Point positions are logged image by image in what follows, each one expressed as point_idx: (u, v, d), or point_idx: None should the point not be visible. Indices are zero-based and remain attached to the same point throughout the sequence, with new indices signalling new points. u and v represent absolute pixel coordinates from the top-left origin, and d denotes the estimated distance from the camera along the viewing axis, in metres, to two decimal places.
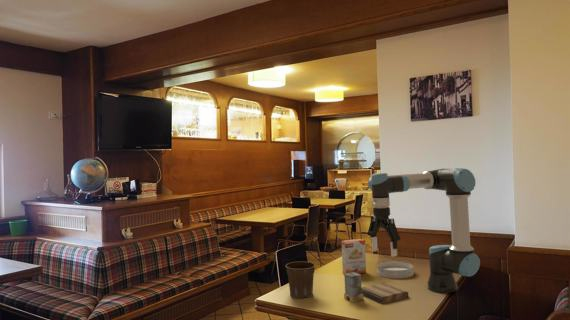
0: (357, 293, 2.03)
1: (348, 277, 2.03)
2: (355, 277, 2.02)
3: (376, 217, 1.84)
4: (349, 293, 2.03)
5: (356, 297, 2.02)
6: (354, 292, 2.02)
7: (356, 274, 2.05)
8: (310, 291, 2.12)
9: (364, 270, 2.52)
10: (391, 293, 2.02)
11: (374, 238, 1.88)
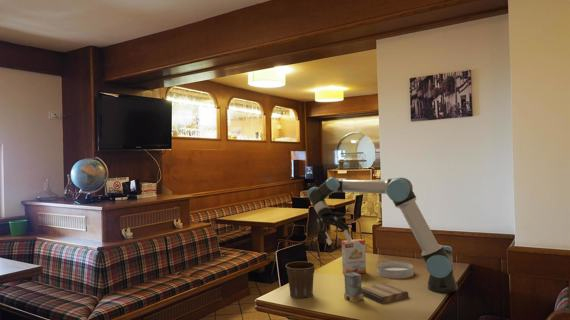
0: (357, 293, 2.03)
1: (348, 277, 2.03)
2: (355, 277, 2.02)
3: None
4: (349, 293, 2.03)
5: (356, 297, 2.02)
6: (354, 292, 2.02)
7: (356, 274, 2.05)
8: (310, 291, 2.12)
9: (364, 270, 2.52)
10: (391, 293, 2.02)
11: (344, 232, 2.19)
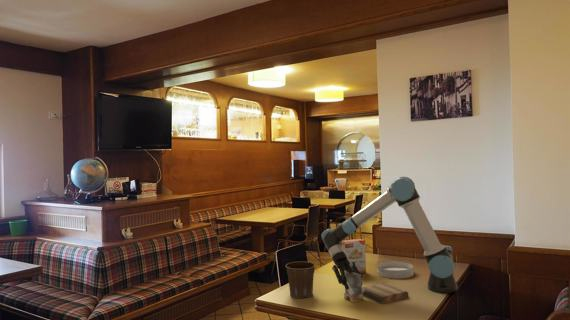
0: (357, 293, 2.03)
1: (348, 277, 2.03)
2: (355, 277, 2.02)
3: None
4: None
5: (356, 297, 2.02)
6: (354, 292, 2.02)
7: (356, 274, 2.05)
8: (310, 291, 2.12)
9: (364, 270, 2.52)
10: (391, 293, 2.02)
11: None
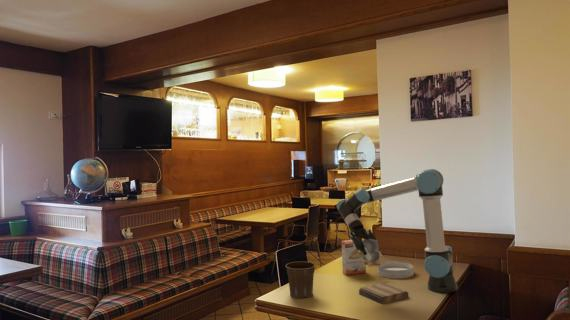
0: (375, 258, 2.06)
1: (366, 243, 2.06)
2: (373, 243, 2.05)
3: None
4: (367, 259, 2.06)
5: (374, 262, 2.05)
6: (372, 258, 2.05)
7: (373, 240, 2.08)
8: (310, 291, 2.12)
9: (364, 270, 2.52)
10: (391, 293, 2.02)
11: None
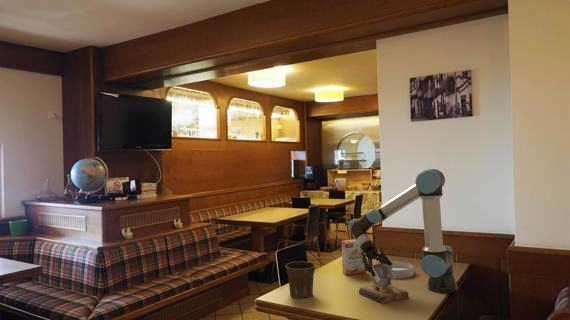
0: (386, 283, 2.06)
1: (377, 268, 2.07)
2: (384, 268, 2.06)
3: None
4: (379, 284, 2.07)
5: (386, 287, 2.05)
6: (384, 283, 2.05)
7: (385, 265, 2.08)
8: (310, 291, 2.12)
9: (364, 270, 2.52)
10: (391, 293, 2.02)
11: None
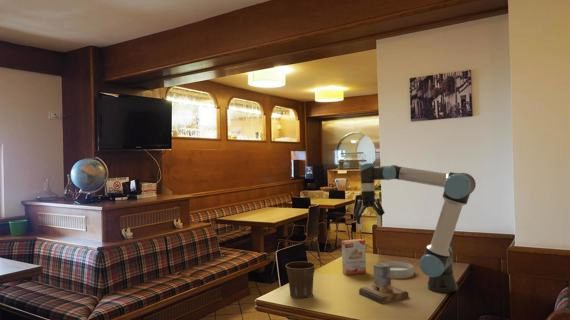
0: (386, 284, 2.06)
1: (378, 268, 2.07)
2: (385, 268, 2.06)
3: None
4: (379, 284, 2.07)
5: (386, 287, 2.05)
6: (384, 283, 2.05)
7: (385, 265, 2.08)
8: (310, 291, 2.12)
9: (364, 270, 2.52)
10: (391, 293, 2.02)
11: (378, 216, 2.28)
